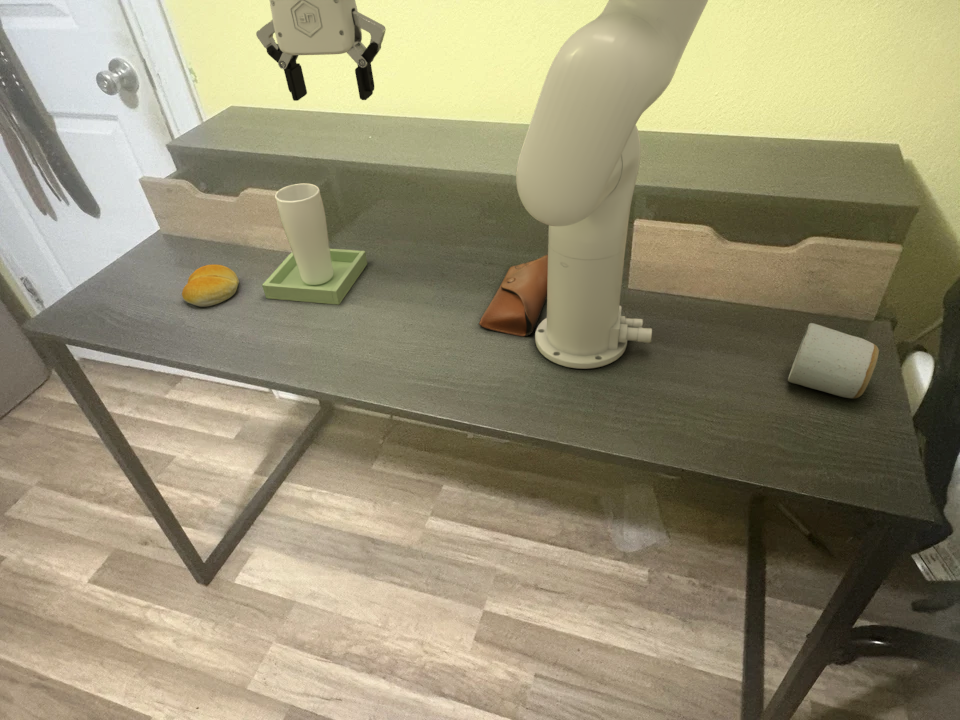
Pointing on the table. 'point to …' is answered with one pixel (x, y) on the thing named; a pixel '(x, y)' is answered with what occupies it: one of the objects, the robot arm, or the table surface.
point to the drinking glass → (306, 231)
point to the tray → (291, 286)
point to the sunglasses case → (518, 299)
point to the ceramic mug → (834, 362)
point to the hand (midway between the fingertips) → (333, 97)
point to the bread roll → (210, 285)
